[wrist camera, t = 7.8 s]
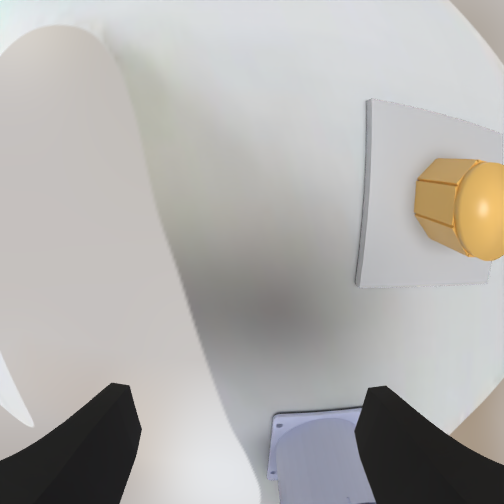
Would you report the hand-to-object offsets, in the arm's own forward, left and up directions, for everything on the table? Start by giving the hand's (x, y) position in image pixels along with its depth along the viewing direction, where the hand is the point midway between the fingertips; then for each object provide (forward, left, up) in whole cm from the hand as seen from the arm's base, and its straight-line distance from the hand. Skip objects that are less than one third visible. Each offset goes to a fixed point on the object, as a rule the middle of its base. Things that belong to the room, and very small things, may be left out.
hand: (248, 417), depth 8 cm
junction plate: (+6, -12, -10) cm, 17 cm away
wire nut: (+6, -12, -10) cm, 17 cm away
